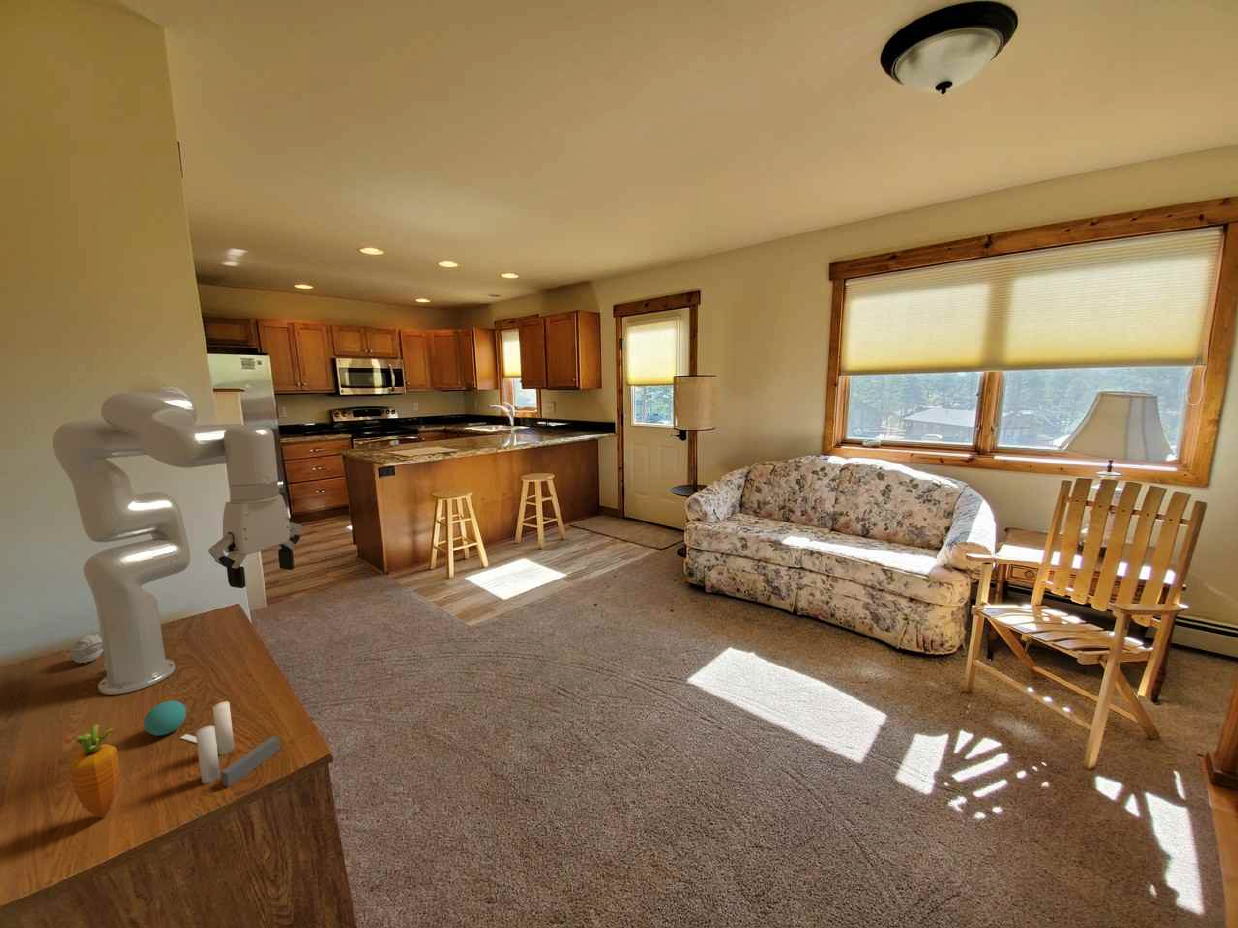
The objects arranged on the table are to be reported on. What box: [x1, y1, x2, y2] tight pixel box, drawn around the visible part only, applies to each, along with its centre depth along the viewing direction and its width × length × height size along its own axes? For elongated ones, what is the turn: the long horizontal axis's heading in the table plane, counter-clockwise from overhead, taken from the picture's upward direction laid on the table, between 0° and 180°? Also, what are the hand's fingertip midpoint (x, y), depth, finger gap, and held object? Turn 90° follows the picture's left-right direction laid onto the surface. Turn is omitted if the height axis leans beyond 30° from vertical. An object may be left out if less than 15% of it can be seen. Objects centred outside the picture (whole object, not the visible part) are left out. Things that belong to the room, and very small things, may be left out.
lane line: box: [179, 733, 217, 745], centre depth 91 cm, size 9×1×1 cm, turn 73°
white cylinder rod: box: [195, 725, 221, 784], centre depth 82 cm, size 2×2×9 cm
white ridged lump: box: [68, 634, 104, 664], centre depth 117 cm, size 6×7×7 cm
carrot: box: [69, 724, 120, 819], centre depth 74 cm, size 5×5×15 cm
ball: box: [143, 700, 187, 736], centre depth 93 cm, size 6×6×6 cm
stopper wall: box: [220, 735, 281, 788], centre depth 85 cm, size 2×9×2 cm, turn 163°
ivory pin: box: [212, 700, 235, 756], centre depth 89 cm, size 2×2×9 cm
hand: (263, 577), depth 94 cm, fingers open, 9 cm apart
